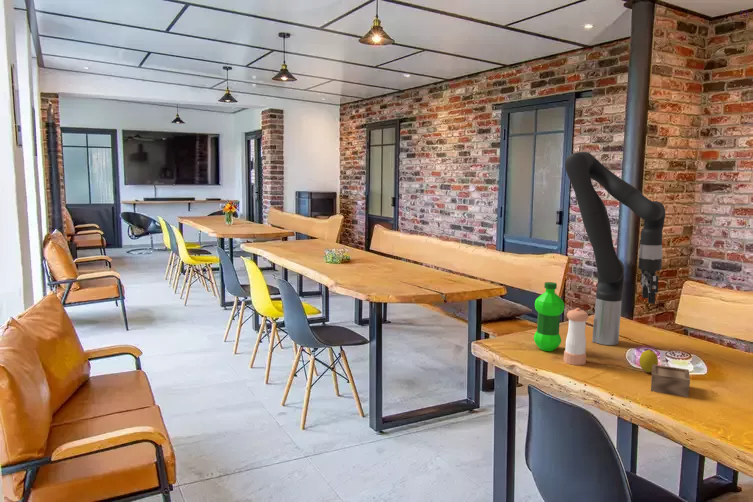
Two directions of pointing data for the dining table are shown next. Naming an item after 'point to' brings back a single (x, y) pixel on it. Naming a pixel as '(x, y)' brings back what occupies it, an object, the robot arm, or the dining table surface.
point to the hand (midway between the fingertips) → (648, 300)
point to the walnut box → (670, 380)
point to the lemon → (648, 360)
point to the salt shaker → (576, 338)
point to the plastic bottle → (548, 318)
